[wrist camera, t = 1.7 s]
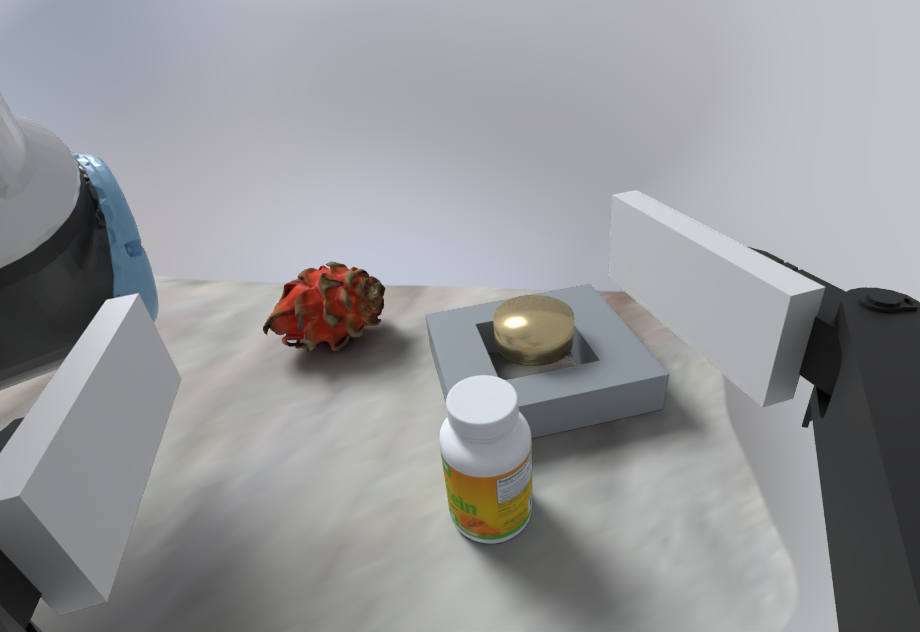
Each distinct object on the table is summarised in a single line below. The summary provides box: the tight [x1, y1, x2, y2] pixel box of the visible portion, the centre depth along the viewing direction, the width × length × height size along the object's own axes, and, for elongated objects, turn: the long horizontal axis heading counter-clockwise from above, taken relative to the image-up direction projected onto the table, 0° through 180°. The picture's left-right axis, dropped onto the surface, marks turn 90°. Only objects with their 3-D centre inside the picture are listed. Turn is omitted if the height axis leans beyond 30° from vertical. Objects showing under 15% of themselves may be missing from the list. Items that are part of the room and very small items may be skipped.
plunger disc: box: [493, 295, 574, 366], centre depth 42 cm, size 6×6×2 cm
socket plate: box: [426, 284, 669, 439], centre depth 44 cm, size 16×14×4 cm
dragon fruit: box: [263, 262, 385, 352], centre depth 50 cm, size 8×8×12 cm
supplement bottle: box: [439, 375, 532, 544], centre depth 31 cm, size 5×5×10 cm
